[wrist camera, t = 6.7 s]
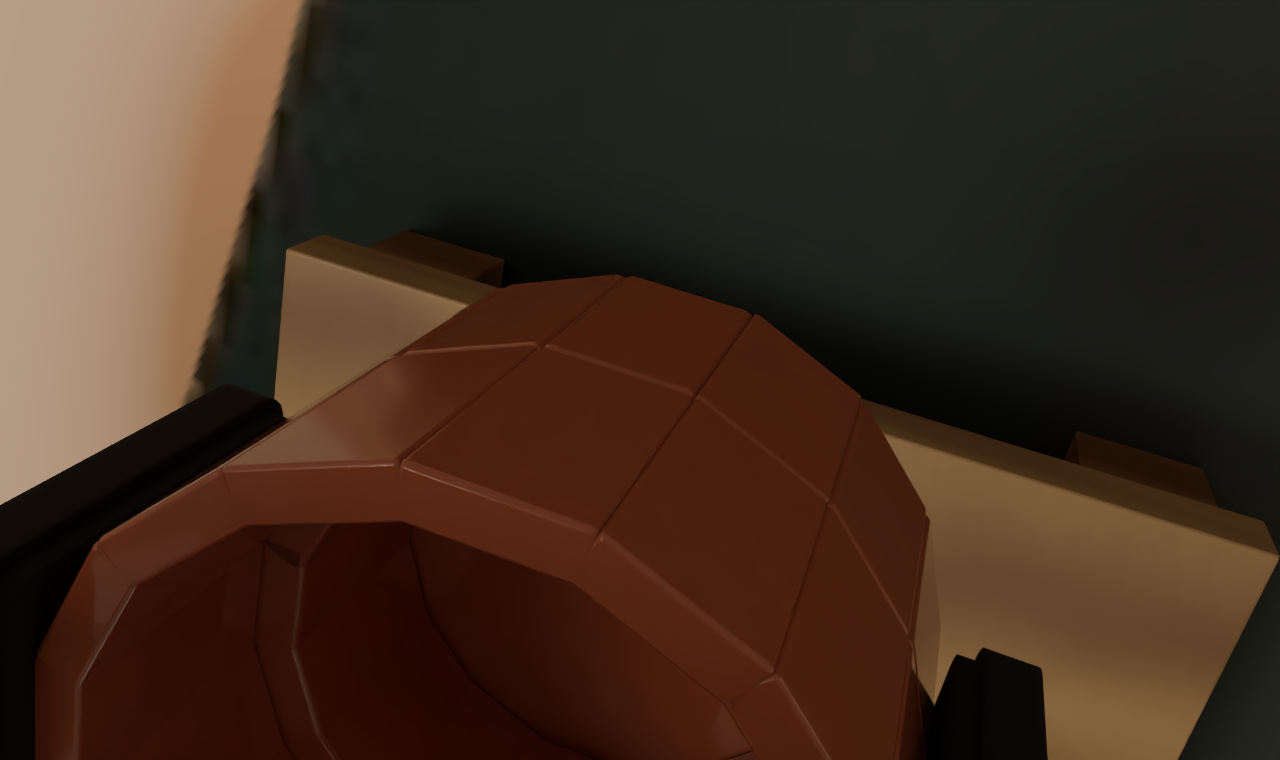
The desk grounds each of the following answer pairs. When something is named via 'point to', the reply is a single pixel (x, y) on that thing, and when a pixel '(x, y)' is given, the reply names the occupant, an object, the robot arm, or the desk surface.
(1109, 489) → the oak riser board
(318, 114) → the desk surface
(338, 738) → the dip bowl
